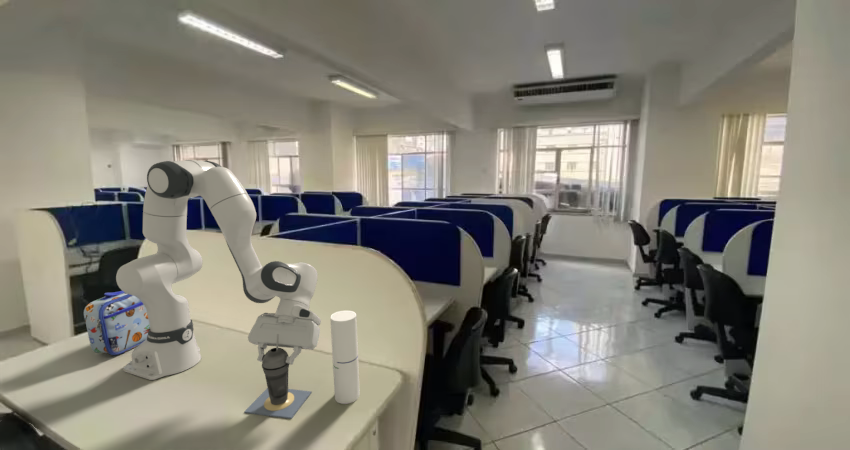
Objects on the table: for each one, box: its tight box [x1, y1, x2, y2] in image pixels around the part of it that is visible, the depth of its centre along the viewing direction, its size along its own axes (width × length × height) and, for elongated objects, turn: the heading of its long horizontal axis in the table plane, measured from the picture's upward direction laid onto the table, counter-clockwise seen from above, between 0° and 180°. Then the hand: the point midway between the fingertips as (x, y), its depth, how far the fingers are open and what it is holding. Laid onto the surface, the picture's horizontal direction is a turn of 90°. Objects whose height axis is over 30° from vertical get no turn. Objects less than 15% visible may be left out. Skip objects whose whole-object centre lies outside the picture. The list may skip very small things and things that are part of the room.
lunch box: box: [83, 290, 150, 356], centre depth 132 cm, size 28×10×22 cm, turn 169°
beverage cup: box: [261, 334, 290, 405], centre depth 98 cm, size 7×7×20 cm
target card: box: [244, 387, 313, 420], centre depth 100 cm, size 14×11×1 cm
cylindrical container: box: [330, 309, 361, 405], centre depth 101 cm, size 7×7×25 cm
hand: (274, 362), depth 97 cm, fingers closed on beverage cup, 7 cm apart
